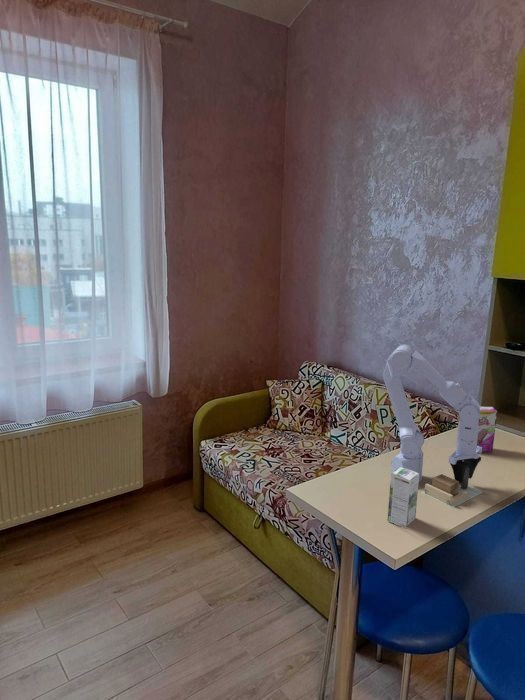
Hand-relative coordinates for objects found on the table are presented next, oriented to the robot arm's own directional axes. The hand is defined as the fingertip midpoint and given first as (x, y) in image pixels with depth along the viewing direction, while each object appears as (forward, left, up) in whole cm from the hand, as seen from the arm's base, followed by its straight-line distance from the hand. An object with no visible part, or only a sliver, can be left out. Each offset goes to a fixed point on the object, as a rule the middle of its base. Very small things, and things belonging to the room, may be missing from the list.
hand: (463, 479), depth 152 cm
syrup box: (-29, -8, -4) cm, 30 cm away
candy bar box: (+27, +22, -4) cm, 35 cm away
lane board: (-5, -1, -3) cm, 6 cm away
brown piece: (-5, -1, -2) cm, 6 cm away
